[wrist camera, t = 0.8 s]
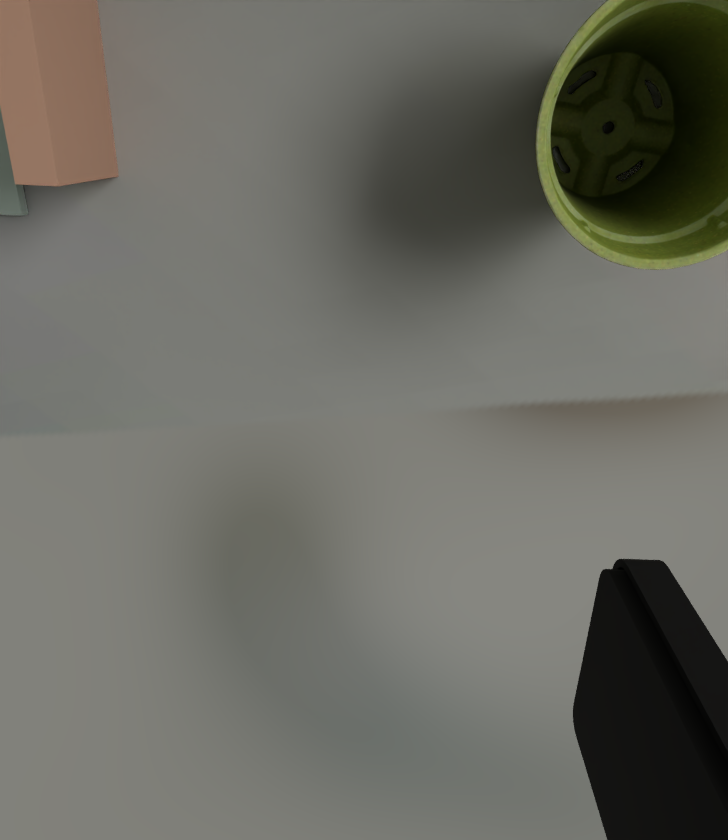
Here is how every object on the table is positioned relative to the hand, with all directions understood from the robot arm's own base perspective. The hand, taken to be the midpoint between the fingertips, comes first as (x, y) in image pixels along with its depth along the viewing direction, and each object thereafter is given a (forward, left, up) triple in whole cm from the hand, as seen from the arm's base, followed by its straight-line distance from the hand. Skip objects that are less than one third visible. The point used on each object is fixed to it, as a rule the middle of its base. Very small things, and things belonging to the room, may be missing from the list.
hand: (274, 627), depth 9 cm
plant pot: (-7, +11, -25) cm, 28 cm away
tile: (-8, -13, -25) cm, 30 cm away
